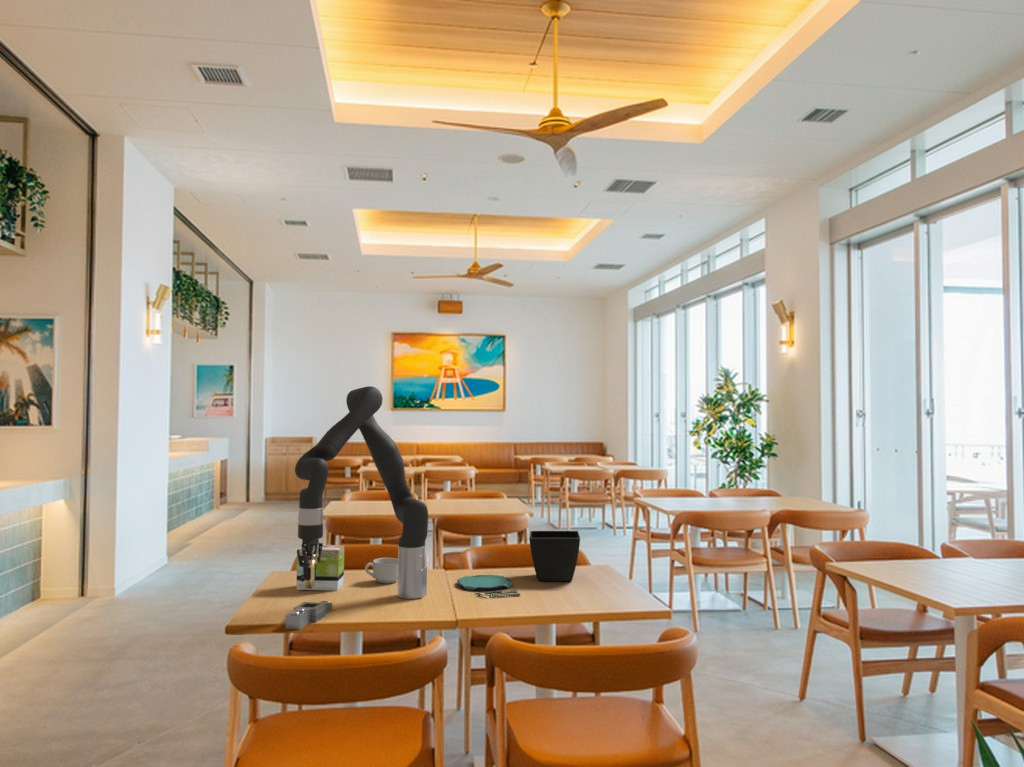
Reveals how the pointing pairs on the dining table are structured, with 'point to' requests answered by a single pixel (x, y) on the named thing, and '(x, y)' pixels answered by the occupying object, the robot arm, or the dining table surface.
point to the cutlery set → (486, 584)
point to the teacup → (384, 570)
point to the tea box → (326, 570)
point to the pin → (311, 582)
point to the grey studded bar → (307, 614)
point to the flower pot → (554, 554)
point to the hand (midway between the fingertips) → (309, 578)
